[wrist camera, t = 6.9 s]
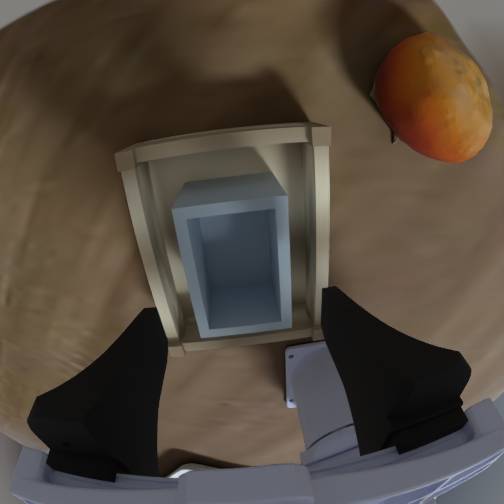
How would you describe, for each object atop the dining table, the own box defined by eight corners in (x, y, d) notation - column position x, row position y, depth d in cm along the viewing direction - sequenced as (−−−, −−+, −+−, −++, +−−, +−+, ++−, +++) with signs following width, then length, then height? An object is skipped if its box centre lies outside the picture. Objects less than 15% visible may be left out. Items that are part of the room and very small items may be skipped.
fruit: (321, 99, 16) (434, 48, 9) (367, 47, 18) (452, 8, 10) (395, 194, 19) (502, 187, 12) (425, 128, 21) (508, 111, 14)
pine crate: (313, 305, 24) (326, 338, 21) (177, 321, 24) (171, 357, 20) (310, 121, 18) (330, 126, 14) (135, 143, 17) (114, 153, 14)
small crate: (279, 282, 22) (291, 327, 18) (204, 291, 22) (200, 338, 18) (272, 172, 19) (287, 195, 14) (184, 182, 18) (171, 209, 14)
